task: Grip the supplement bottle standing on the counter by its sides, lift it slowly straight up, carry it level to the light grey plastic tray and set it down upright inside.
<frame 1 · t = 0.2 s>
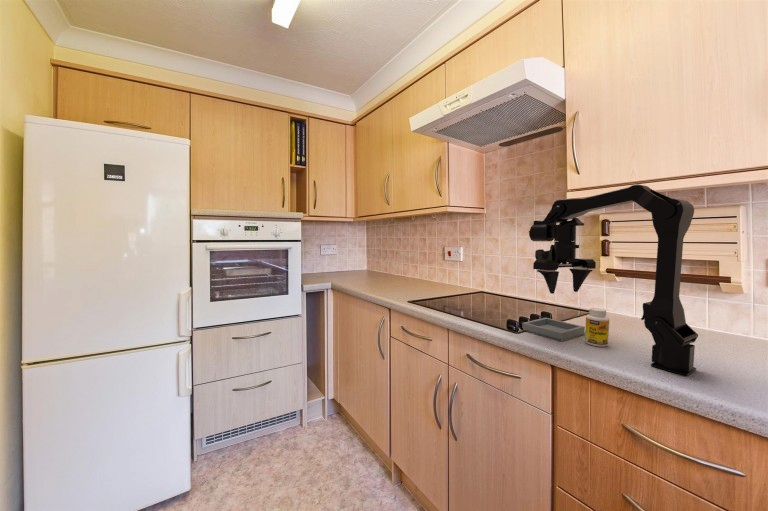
hand: (563, 292, 96), 14 cm above the worktop, tool pointing down, fingers open, 9 cm apart
supplement bottle: (596, 344, 91), on the worktop
tray: (552, 332, 102), on the worktop
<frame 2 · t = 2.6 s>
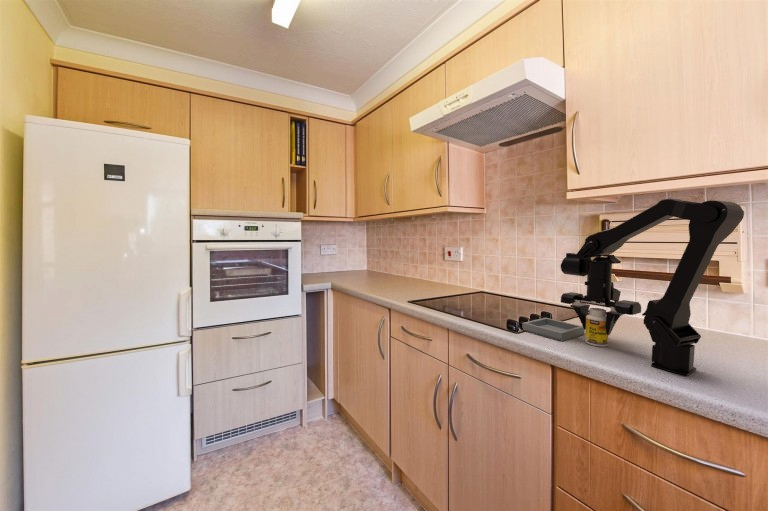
hand: (596, 332, 91), 4 cm above the worktop, tool pointing down, fingers closed on supplement bottle, 5 cm apart
supplement bottle: (596, 344, 91), on the worktop, touching gripper
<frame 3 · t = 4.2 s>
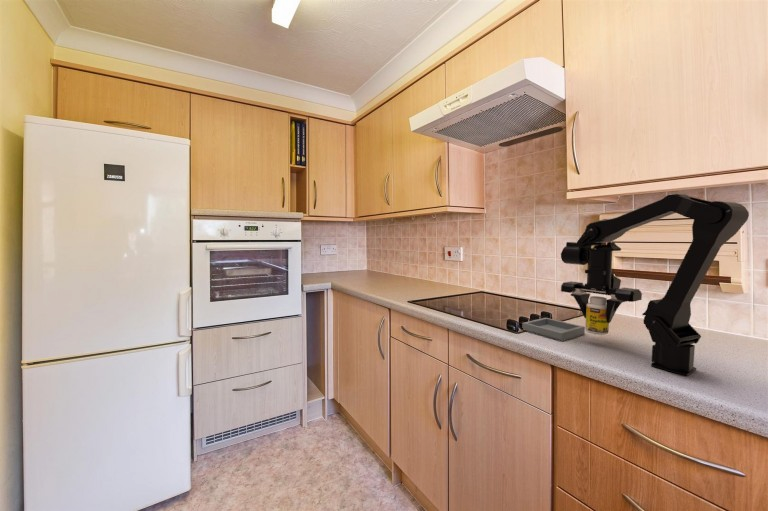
hand: (597, 320, 91), 7 cm above the worktop, tool pointing down, fingers closed on supplement bottle, 5 cm apart
supplement bottle: (596, 333, 91), point 3 cm above the worktop, touching gripper
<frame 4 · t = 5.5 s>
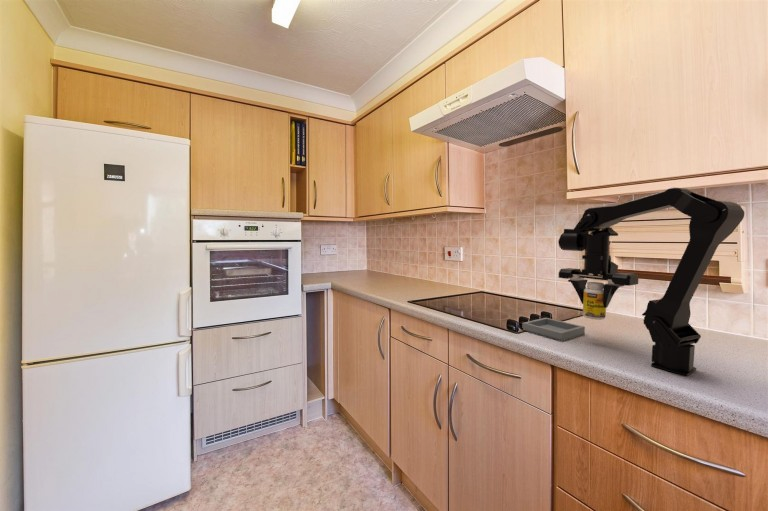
hand: (594, 305, 91), 11 cm above the worktop, tool pointing down, fingers closed on supplement bottle, 5 cm apart
supplement bottle: (593, 318, 92), point 7 cm above the worktop, touching gripper
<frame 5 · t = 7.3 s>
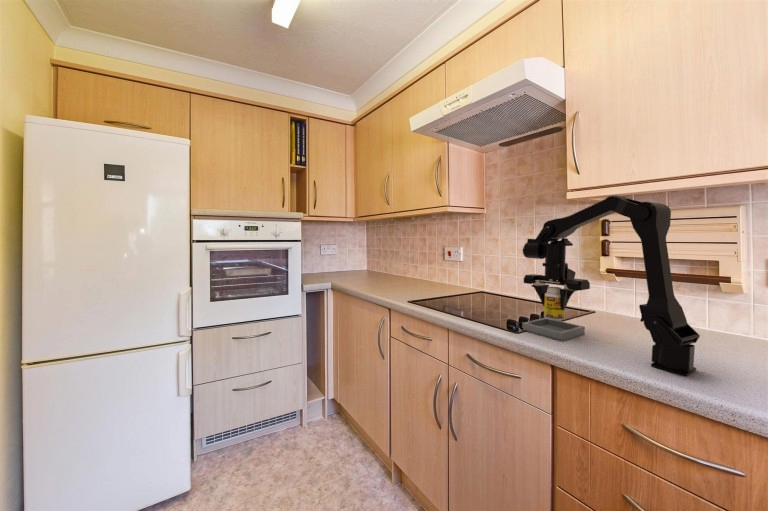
hand: (553, 308, 102), 8 cm above the worktop, tool pointing down, fingers closed on supplement bottle, 5 cm apart
supplement bottle: (553, 319, 102), point 4 cm above the worktop, touching gripper
when the fingers open (5 cm above the worktop, at t = 8.7 s): supplement bottle drops 1 cm, resting on tray.
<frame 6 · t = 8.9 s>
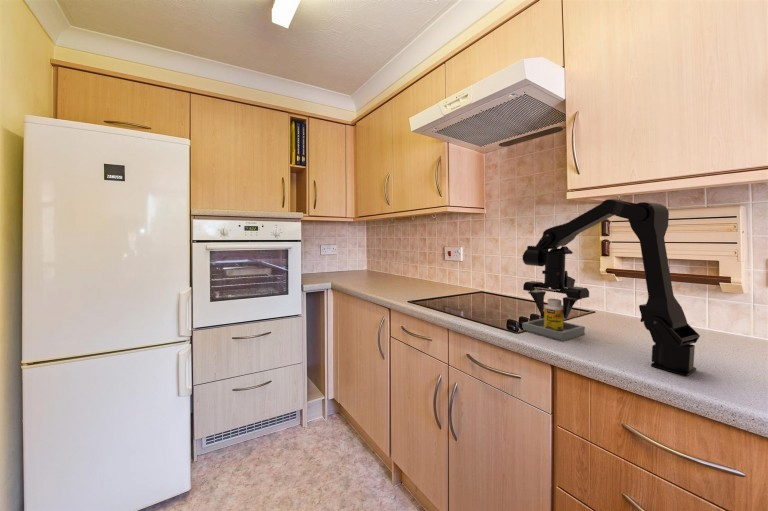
hand: (553, 315, 102), 5 cm above the worktop, tool pointing down, fingers open, 8 cm apart
supplement bottle: (553, 331, 102), resting on tray
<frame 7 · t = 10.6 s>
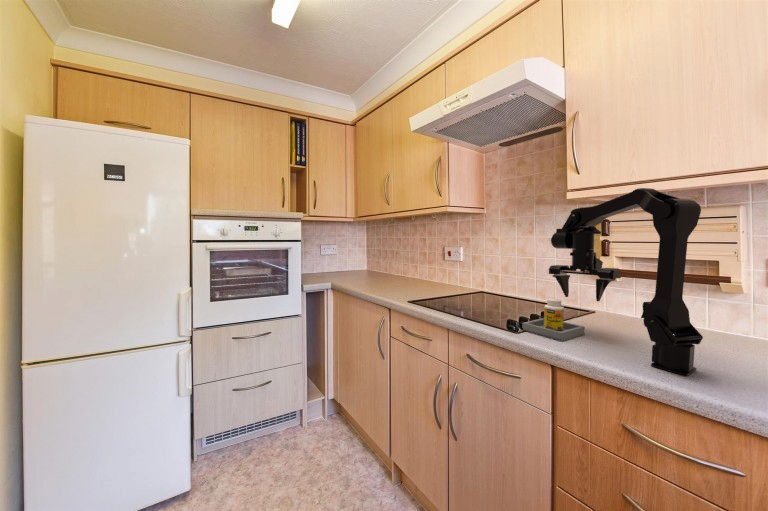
hand: (581, 299, 99), 12 cm above the worktop, tool pointing down, fingers open, 9 cm apart
nothing on the worktop moved.
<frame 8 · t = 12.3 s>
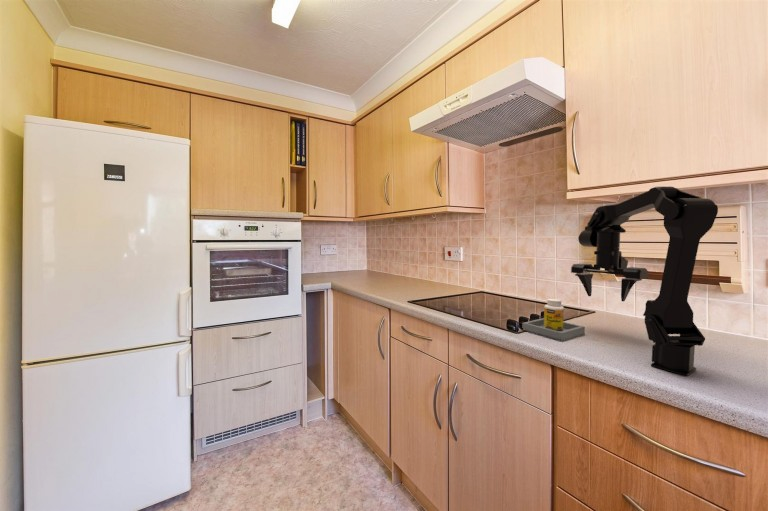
hand: (605, 298, 97), 12 cm above the worktop, tool pointing down, fingers open, 9 cm apart
nothing on the worktop moved.
at the end: supplement bottle inside the target area on the tray (0.2 cm from its centre), point 0.3 cm above the tray's base; supplement bottle tilted 0°; the gripper is holding nothing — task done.
